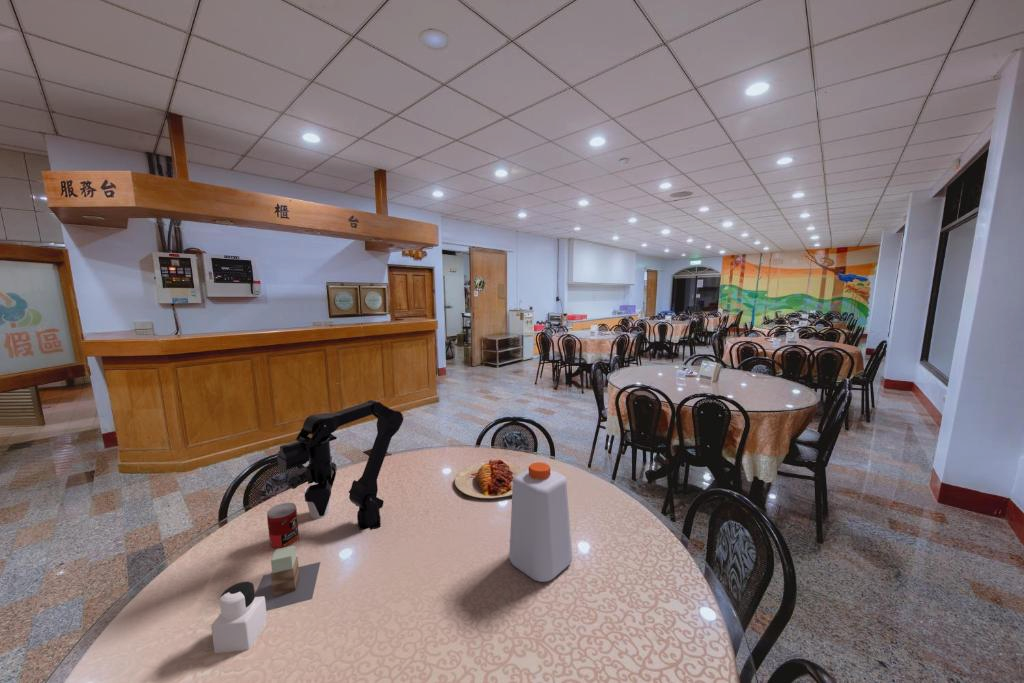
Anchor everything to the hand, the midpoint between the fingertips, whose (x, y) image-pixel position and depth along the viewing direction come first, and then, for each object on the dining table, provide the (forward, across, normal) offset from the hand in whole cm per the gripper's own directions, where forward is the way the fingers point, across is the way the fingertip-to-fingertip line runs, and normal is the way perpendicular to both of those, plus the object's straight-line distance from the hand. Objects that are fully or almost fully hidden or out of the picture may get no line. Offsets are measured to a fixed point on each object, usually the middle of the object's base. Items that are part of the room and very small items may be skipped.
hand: (324, 507), depth 110 cm
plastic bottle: (+13, +29, +58) cm, 66 cm away
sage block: (+6, +14, -8) cm, 17 cm away
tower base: (+12, +14, -8) cm, 20 cm away
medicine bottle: (+13, +27, -14) cm, 33 cm away
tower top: (+9, +14, -8) cm, 19 cm away
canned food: (+13, -8, -13) cm, 20 cm away
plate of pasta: (+14, -20, +61) cm, 66 cm away
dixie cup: (+13, -21, -5) cm, 25 cm away
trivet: (+13, +14, -8) cm, 21 cm away
